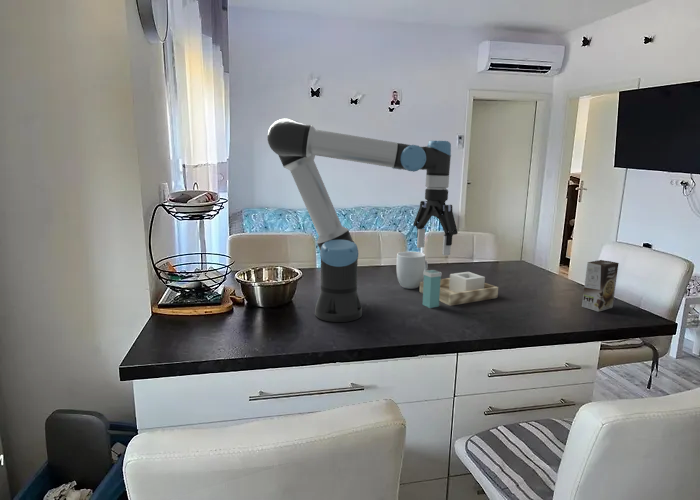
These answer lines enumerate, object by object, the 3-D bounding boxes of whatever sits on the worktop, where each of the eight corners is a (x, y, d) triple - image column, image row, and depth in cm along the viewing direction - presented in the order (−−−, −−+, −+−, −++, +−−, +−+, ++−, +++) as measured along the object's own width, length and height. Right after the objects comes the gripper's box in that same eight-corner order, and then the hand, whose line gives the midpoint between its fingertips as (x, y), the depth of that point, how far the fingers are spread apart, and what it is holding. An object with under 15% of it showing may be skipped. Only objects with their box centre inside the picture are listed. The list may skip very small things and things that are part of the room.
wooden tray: (450, 305, 163) (450, 294, 163) (419, 292, 179) (419, 281, 178) (497, 297, 173) (498, 287, 173) (464, 285, 189) (465, 275, 188)
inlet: (465, 295, 172) (466, 279, 171) (449, 289, 180) (450, 274, 178) (483, 292, 176) (485, 277, 175) (467, 286, 184) (468, 271, 183)
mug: (415, 280, 196) (417, 249, 194) (436, 285, 188) (437, 253, 185) (389, 285, 187) (390, 253, 184) (410, 292, 179) (411, 258, 176)
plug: (429, 308, 160) (431, 273, 158) (421, 304, 164) (423, 271, 162) (439, 306, 162) (441, 272, 160) (431, 302, 166) (433, 269, 164)
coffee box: (599, 312, 159) (605, 265, 156) (581, 307, 165) (586, 261, 161) (613, 307, 164) (619, 262, 161) (595, 302, 169) (601, 258, 166)
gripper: (472, 191, 148) (466, 257, 152) (422, 185, 169) (419, 243, 174) (453, 191, 145) (448, 259, 149) (405, 185, 166) (402, 245, 170)
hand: (432, 251), depth 161 cm, fingers open, 13 cm apart
